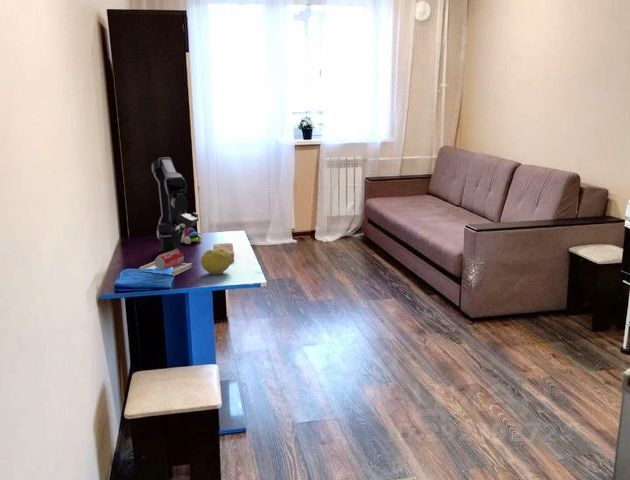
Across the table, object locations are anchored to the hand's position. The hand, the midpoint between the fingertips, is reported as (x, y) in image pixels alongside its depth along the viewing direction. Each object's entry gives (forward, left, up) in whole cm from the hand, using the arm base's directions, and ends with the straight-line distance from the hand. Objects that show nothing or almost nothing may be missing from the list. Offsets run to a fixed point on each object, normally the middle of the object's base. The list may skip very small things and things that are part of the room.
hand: (178, 244), depth 244 cm
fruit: (+22, -7, -8) cm, 24 cm away
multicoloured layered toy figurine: (-15, +32, -8) cm, 36 cm away
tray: (0, -9, -8) cm, 12 cm away
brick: (+13, +15, -9) cm, 21 cm away
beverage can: (+1, -2, -4) cm, 5 cm away
